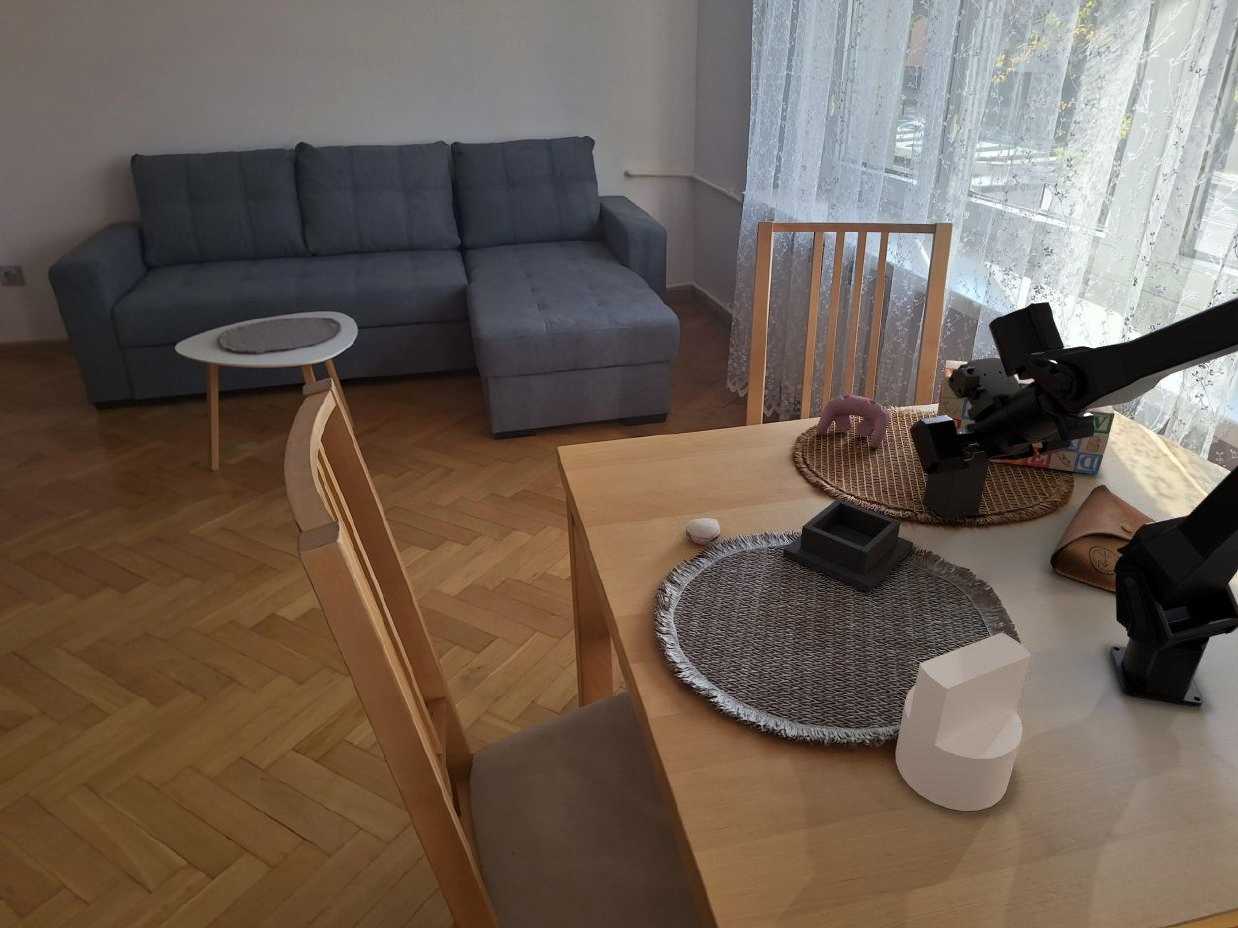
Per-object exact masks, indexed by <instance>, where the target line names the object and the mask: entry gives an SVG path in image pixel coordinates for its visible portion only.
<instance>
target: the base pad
mask: <svg viewBox="0 0 1238 928" xmlns="http://www.w3.org/2000/svg"><path fill="white" fill-rule="evenodd" d="M900 529H901V521H899V520H896V519H894V518H892V517H889V516H886V515H883V514H881V513H878V512H875V511H873V510H870V509H867V508H864V507H862V506H859V505H857V504H854V503H851V502H848V501H846V500H844V499H840V498H836V499H835V500H834V501H833V502H831V503H830V504H829V505H828V506H826V507H825V508H824V509H823V510H821V511H820V512H819V513H818V514H816V515H815V516H814V517H813V518H811V519H810V520H809V521H807V522H806V523H805V524H803V525H802V526H801V534H800V535H799V536H798V537H797V538H795V539H794V540H792V541H791V542H790V543H789V544H788V545H786V546H785V547H784V548H783V550H782V551H783V553H782V556H783V557H786V558H788V559H790V560H792V561H794V562H797V563H798V564H800V565H801V564H802V565H804V566H806V567H808V568H811V569H813V570H815V571H818V572H820V573H821V574H824V575H827V576H829V577H831V578H833V579H836V580H838V581H840V582H843V583H845V584H847V585H850V586H851V587H854V588H856V589H858V590H860V591H862V592H865V593H869V592H871V590H873V588H874V587H875V586H877V585H878V584H879V583H880V582H881V581H882V580H883V579H884V578H885V577H886V576H887V575H888V574H889V573H890V572H891V571H892V570H893V569H894V568H895V567H896V566H897V565H898V564H899V563H901V562H902V560H903V559H904V558H905V557H906V556H907V555H908V554H909V553H910V552H911V551H912V550H913V548H914V541H911V540H909V539H907V538H903V537H902V536H899V535H900Z"/></svg>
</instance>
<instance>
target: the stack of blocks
mask: <svg viewBox="0 0 1238 928" xmlns="http://www.w3.org/2000/svg"><path fill="white" fill-rule="evenodd" d="M968 362H969V361H960V360H949V359H947V360H945V366H944V372H943V379H942V380H941V385H940V391H939V397H938V406H937V412H936V417H938V416H945V415H946V416H948V417H949V418H951V419H952V420H954V423H955V426H956V429H961V428H965V425H967V424H970V423H975V421H974V420H970V418H969V415H968V412H967V410H969V409H970V408H972V407H973V405H972V404H971V403H970V402H969V400H968V399H967V398H957V397H956V395H955V394H954V392H953V391H952V389H951V388H950V386H949V384H948V380H949V378H950V376H951V375H952V371H953V370H954V369H958V368H959V367H960V365H962V364H967V363H968ZM1014 377H1015V378H1016V379H1017V381H1018V386H1019V388H1020V389H1021V388H1023V387H1025V386H1026V385H1028V384H1029V383H1031V382H1033V381H1034V380H1033V379H1028V380H1019V378H1018V375H1017V374H1016V375H1014ZM1089 412H1090V413H1091V414H1093V415H1094V416H1095V419H1094V426H1095V431H1094V436H1092V437H1089V438H1083V439H1077V440H1072V441H1071V444H1070V447H1069V448H1067V449H1065V450H1062V451H1060V452H1057V453H1051V454H1045V455H1040V454H1039V452H1038V449H1040V448H1042V447H1043V446H1042V443H1041V442H1040V443H1034V444H1032V446H1033V448H1034V451H1035V454H1034V456H1033V457H1029V458H1023V459H1018V460H993V459H990V462H991V463H1000V464H1001V463H1003V464H1011V465H1018V466H1029V467H1035V468H1042V469H1043V468H1044V469H1050V470H1051V469H1052V470H1057V471H1058V470H1059V471H1067V472H1074V473H1079V474H1081V473H1082V474H1088V475H1089V474H1090V475H1098V474H1099V471H1100V470H1101V469H1100V468H1101V465H1102V461H1103V458H1104V455H1105V452H1106V448H1107V446H1108V442H1109V439H1110V433H1111V429H1112V427H1113V422H1114V419H1115V415H1116V413H1115V410H1114V407H1113V405H1111V406H1105V407H1099V408H1093V409H1089ZM990 462H989V463H990Z"/></svg>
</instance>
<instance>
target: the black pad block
mask: <svg viewBox="0 0 1238 928" xmlns="http://www.w3.org/2000/svg"><path fill="white" fill-rule="evenodd" d="M957 430H958V431H959V433H965V434H966V433H967V432H966V429H965V428H961V429H957ZM969 433H972V432H969ZM975 444H978V443H975ZM975 444H974V445H975ZM969 445H973V444H969ZM968 464H969V467H970V468H967V469H962V470H956V471H949V472H944V473H938V474H933V475H928V474H927V476H926V477H927V478H926V483H925V489H924V495H923V500H922V502H923V503H924V504H925V505H926V506H927V507H929V508H930V509H931V510H932V511H933V512H935V513H936V514H937V515H938V516H939V517H940V518H941V519H943V520H944V521H951V520H955V519H961V518H966V517H970V516H976V515H979V513H980V508H981V504H982V498H983V494H984V489H985V485H986V480H987V476H988V470H989V466H990V459H987V456H986V453H985V452H980V453H975V454H974V457H973V458H972V459H971V460H968Z"/></svg>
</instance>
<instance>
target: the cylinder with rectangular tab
mask: <svg viewBox="0 0 1238 928" xmlns="http://www.w3.org/2000/svg"><path fill="white" fill-rule="evenodd" d="M1031 658H1032V654H1031V653H1030V652H1029V650H1028V649H1026V647H1025V646H1023V645H1022V643H1020V642H1019V641H1017V640H1016V639H1014V638H1012V637H1011V636H1010V635H1007V634H1006V633H1004V632H1000V633H996V634H994V635H992V636H988V637H986V638H983V639H981V640H978V641H976V642H973V643H969V644H968V645H965V646H963V647H959V648H957V649H955V650H951V651H949V652H946V653H944V654H941V655H938V656H936V657H933V658H931V659H928V660H925V661H923V662H920V663H919V666H918V672H917V675H916V681H915V684H914V685H913V686H912V687H911V688H910V689H909V690H908V692H907V693H906V698H905V700H904V704H903V709H902V714H901V715H902V716H901V719H900V726H899V731H898V736H897V742H896V748H895V764H896V767H897V769H898V772H899V774H900V776H901V777H902V778H903V779H904V781H905V783H906V784H907V785H908V786H909V787H910V788H911V789H912V790H913V791H915V792H916V793H917V794H918V795H919V796H920V797H922V798H924V799H926V800H927V801H929V802H931V803H932V804H935V805H937V806H941V807H943V808H946V809H948V810H949V809H950V810H956V811H961V812H976V811H981V810H984V809H988V808H991V807H993V806H994V805H995V804H997V803H999V802H1000V801H1001V800H1002V798H1004V795H1005V794H1006V792H1007V790H1008V786H1009V783H1010V779H1011V775H1012V772H1013V769H1014V765H1015V762H1016V758H1017V755H1018V751H1019V748H1020V744H1021V742H1022V741H1021V740H1022V735H1023V725H1022V721H1021V718H1020V716H1019V714H1018V713H1017V708H1018V704H1019V701H1020V697H1021V694H1022V690H1023V687H1024V683H1025V680H1026V676H1027V672H1028V669H1029V665H1030V661H1031Z"/></svg>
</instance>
